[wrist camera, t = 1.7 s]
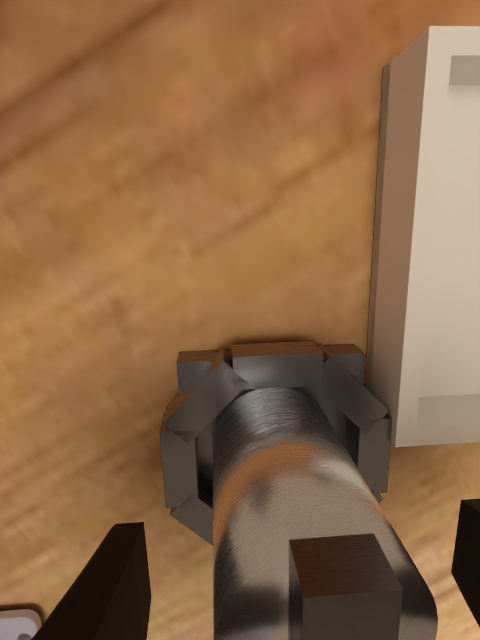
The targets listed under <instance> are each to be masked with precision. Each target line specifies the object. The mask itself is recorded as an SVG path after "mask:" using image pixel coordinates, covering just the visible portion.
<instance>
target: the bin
mask: <svg viewBox="0 0 480 640" xmlns="http://www.w3.org/2000/svg"><path fill="white" fill-rule="evenodd" d="M365 386H366V387H367V388H368V389H369V390H370V391H371V392H372V393H373V394H374V395H375V396H376V397H377V398H378V399H379V400H380V401H381V402H382V403H383V405H384V406H385V407H386V408H387V409H388V410H389V412H388V414H389V415H390V416H391V417H392V418H393V419H392V431H391V443H392V444H393V445H394V447H410V446H426V445H442V444H458V443H473V442H480V26H429V27H428V28H427V29H426V30H425V31H423V32H422V33H421V34H420V35H419V36H418V37H417V38H416V39H415V40H414V41H413V42H411V43H410V44H409V45H408V46H407V47H406V48H405V49H404V50H403V51H402V52H400V53H399V54H398V55H397V56H396V57H395V58H394V59H393V60H392V61H391V62H389V63H388V64H387V65H386V66H385V67H384V68H383V81H382V99H381V116H380V133H379V151H378V168H377V185H376V203H375V220H374V237H373V255H372V272H371V289H370V307H369V324H368V341H367V359H366V376H365Z"/></svg>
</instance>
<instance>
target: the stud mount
mask: <svg viewBox="0 0 480 640" xmlns="http://www.w3.org/2000/svg"><path fill="white" fill-rule="evenodd" d="M363 368H364V353H363V352H362V351H361V350H360V349H359V348H357V347H356V346H355V345H354V344H344V345H321V344H320V345H319V346H317V345H316V344H315V343H314V342H313V341H299V342H276V343H254V344H232V345H231V350H224V349H223V348H222V349H221V350H213V351H191V352H179V356H178V360H177V372H178V386H179V394H178V395H177V396H176V397H175V398H174V399H173V400H172V401H171V402H170V403H169V404H168V405H167V409H166V413H164V417H163V421H162V425H161V429H160V441H161V453H162V465H163V477H164V489H165V501H166V508H171V512H170V515H171V516H173V517H174V518H176V519H177V520H178V521H180V522H181V523H183V524H184V525H185V526H187V527H188V528H189V529H191V530H192V531H194V532H195V533H196V534H198V535H199V536H201V537H202V538H203V539H205V540H206V541H208V542H209V543H210V544H212V545H213V436H214V431H215V428H216V425H217V423H218V421H219V419H220V417H221V416H222V414H223V413H224V411H225V410H226V409H227V408H228V407H229V406H230V405H231V404H232V403H233V402H234V401H235V400H237V399H238V398H240V397H241V396H243V395H245V394H247V393H249V392H252V391H254V390H257V389H266V388H290V389H293V390H296V391H299V392H301V393H303V394H305V395H307V396H309V397H310V398H311V399H313V400H314V401H315V402H316V403H317V404H318V405H319V406H320V407H321V409H322V410H323V412H324V413H325V415H326V416H327V418H328V420H329V422H330V423H331V425H332V427H333V428H334V430H335V432H336V433H337V435H338V437H339V438H340V440H341V442H342V443H343V445H344V447H345V448H346V450H347V452H348V453H349V455H350V457H351V458H352V460H353V462H354V463H355V465H356V467H357V469H358V470H359V472H360V474H361V475H362V477H363V479H364V480H365V482H366V484H367V485H368V487H369V489H370V490H371V492H372V494H373V495H374V497H375V499H376V500H377V502H378V503H379V502H381V501H382V500H383V499H382V497H381V495H380V494H379V493H383V492H387V483H388V470H389V457H390V444H391V431H392V419H393V418H392V417H391V416H390V415H389V414H388V412H389V410H388V409H387V408H386V407H385V406H384V405H383V403H382V402H381V401H380V400H379V399H378V398H377V397H376V396H375V395H374V394H373V393H372V392H371V391H370V390H369V389H368V388H367V387H366V386H365V385H363Z"/></svg>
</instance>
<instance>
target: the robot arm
mask: <svg viewBox="0 0 480 640" xmlns="http://www.w3.org/2000/svg"><path fill="white" fill-rule="evenodd" d="M451 573H452V575H453V577H454V579H455V581H456V583H457V585H458V587H459V589H460V591H461V593H462V595H463V597H464V599H465V601H466V603H467V605H468V606H469V608H470V610H471V612H472V614H473V616H474V618H475V620H476V621H477V623H478V625H479V627H480V499H469V500H461V505H460V512H459V520H458V527H457V534H456V542H455V549H454V556H453V564H452V571H451ZM150 603H151V589H150V579H149V570H148V560H147V550H146V540H145V531H144V522H138V523H123V524H115V525H114V526H113V527H112V528H111V529H110V531H109V532H108V534H107V535H106V537H105V538H104V540H103V541H102V543H101V544H100V546H99V547H98V549H97V550H96V552H95V553H94V555H93V556H92V557H91V559H90V560H89V562H88V563H87V565H86V566H85V568H84V569H83V570H82V572H81V573H80V575H79V576H78V577H77V579H76V580H75V582H74V583H73V584H72V586H71V587H70V589H69V590H68V591H67V593H66V594H65V595H64V597H63V598H62V599H61V601H60V602H59V603H58V605H57V606H56V607H55V609H54V610H53V611H52V613H51V614H50V615H49V617H48V618H47V620H46V621H45V622H44V623H43V625H41V620H40V617H39V615H38V614H37V613H36V612H35V611H33V610H30V609H21V610H9V611H0V640H146V638H147V630H148V621H149V612H150Z"/></svg>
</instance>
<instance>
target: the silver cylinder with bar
mask: <svg viewBox="0 0 480 640" xmlns="http://www.w3.org/2000/svg"><path fill="white" fill-rule="evenodd" d="M213 591H214V640H435V639H436V634H437V625H438V617H437V608H436V605H435V602H434V598H433V596H432V594H431V592H430V590H429V588H428V586H427V584H426V583H425V581H424V579H423V578H422V576H421V574H420V573H419V571H418V569H417V568H416V566H415V564H414V563H413V561H412V559H411V557H410V556H409V554H408V552H407V551H406V549H405V547H404V546H403V544H402V542H401V541H400V539H399V537H398V536H397V534H396V532H395V531H394V529H393V527H392V526H391V524H390V522H389V521H388V519H387V517H386V516H385V514H384V512H383V510H382V509H381V507H380V505H379V504H378V502H377V500H376V499H375V497H374V495H373V494H372V492H371V490H370V489H369V487H368V485H367V484H366V482H365V480H364V479H363V477H362V475H361V474H360V472H359V470H358V469H357V467H356V465H355V463H354V462H353V460H352V458H351V457H350V455H349V453H348V452H347V450H346V448H345V447H344V445H343V443H342V442H341V440H340V438H339V437H338V435H337V433H336V432H335V430H334V428H333V427H332V425H331V423H330V422H329V420H328V418H327V416H326V415H325V413H324V412H323V410H322V409H321V407H320V406H319V405H318V404H317V403H316V402H315V401H314V400H313V399H311V398H310V397H309V396H307V395H305V394H303V393H301V392H299V391H296V390H293V389H290V388H266V389H257V390H254V391H252V392H249V393H247V394H245V395H243V396H241V397H240V398H238V399H237V400H235V401H234V402H233V403H232V404H231V405H230V406H229V407H228V408H227V409H226V410H225V411H224V413H223V414H222V416H221V417H220V419H219V421H218V423H217V425H216V428H215V431H214V436H213Z"/></svg>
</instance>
